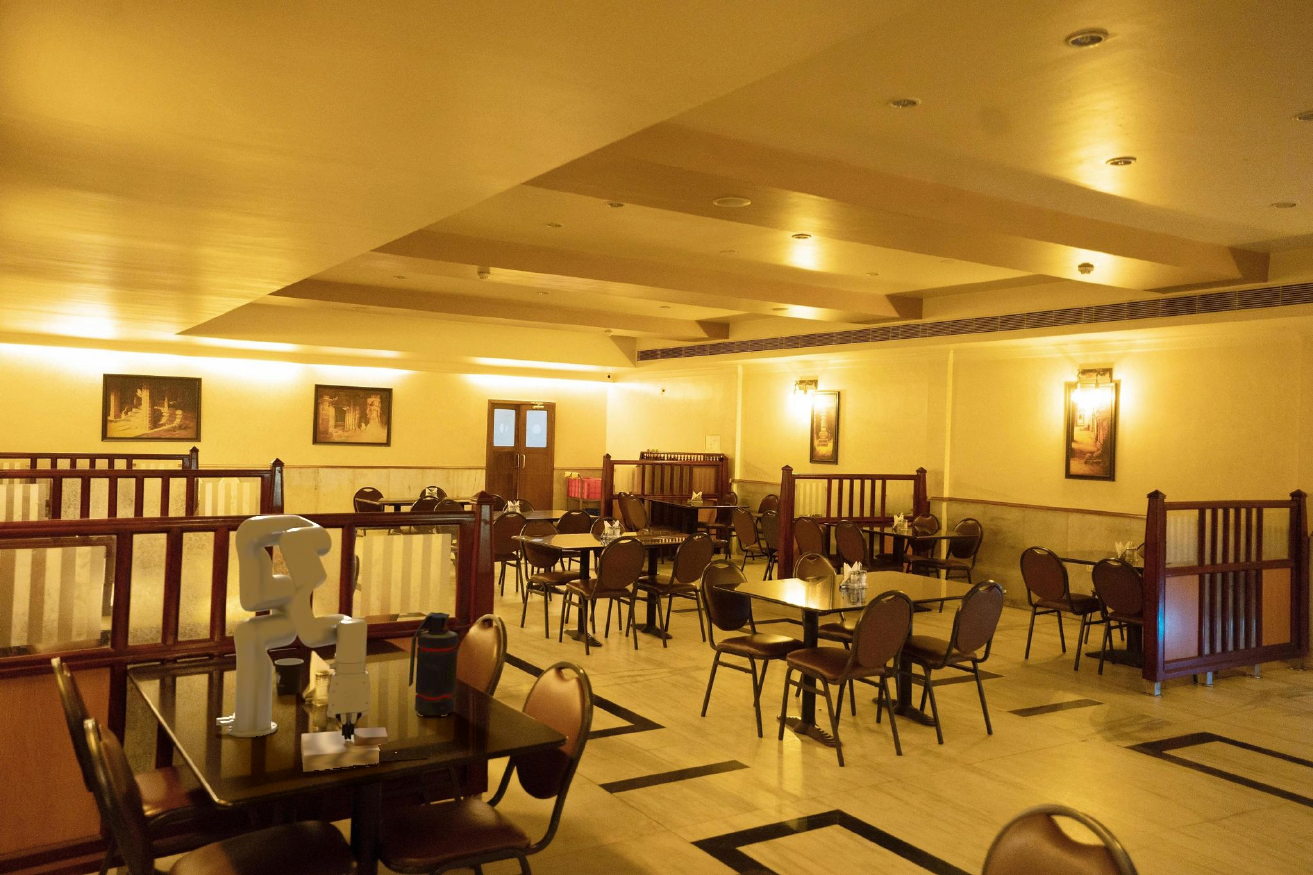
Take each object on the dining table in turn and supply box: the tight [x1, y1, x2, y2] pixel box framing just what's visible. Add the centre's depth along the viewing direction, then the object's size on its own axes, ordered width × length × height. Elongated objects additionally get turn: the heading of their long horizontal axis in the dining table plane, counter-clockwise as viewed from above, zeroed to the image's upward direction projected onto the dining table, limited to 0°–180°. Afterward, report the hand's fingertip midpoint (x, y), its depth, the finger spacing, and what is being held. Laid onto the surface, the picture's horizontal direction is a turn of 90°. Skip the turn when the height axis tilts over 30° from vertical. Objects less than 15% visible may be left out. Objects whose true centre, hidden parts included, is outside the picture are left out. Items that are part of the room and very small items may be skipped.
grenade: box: [408, 611, 459, 716], centre depth 292 cm, size 14×12×30 cm
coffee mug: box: [274, 658, 305, 696], centre depth 308 cm, size 12×9×10 cm
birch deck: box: [300, 730, 380, 773], centre depth 249 cm, size 18×18×4 cm
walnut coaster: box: [353, 727, 388, 746], centre depth 251 cm, size 8×8×2 cm
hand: (347, 737), depth 250 cm, fingers closed
